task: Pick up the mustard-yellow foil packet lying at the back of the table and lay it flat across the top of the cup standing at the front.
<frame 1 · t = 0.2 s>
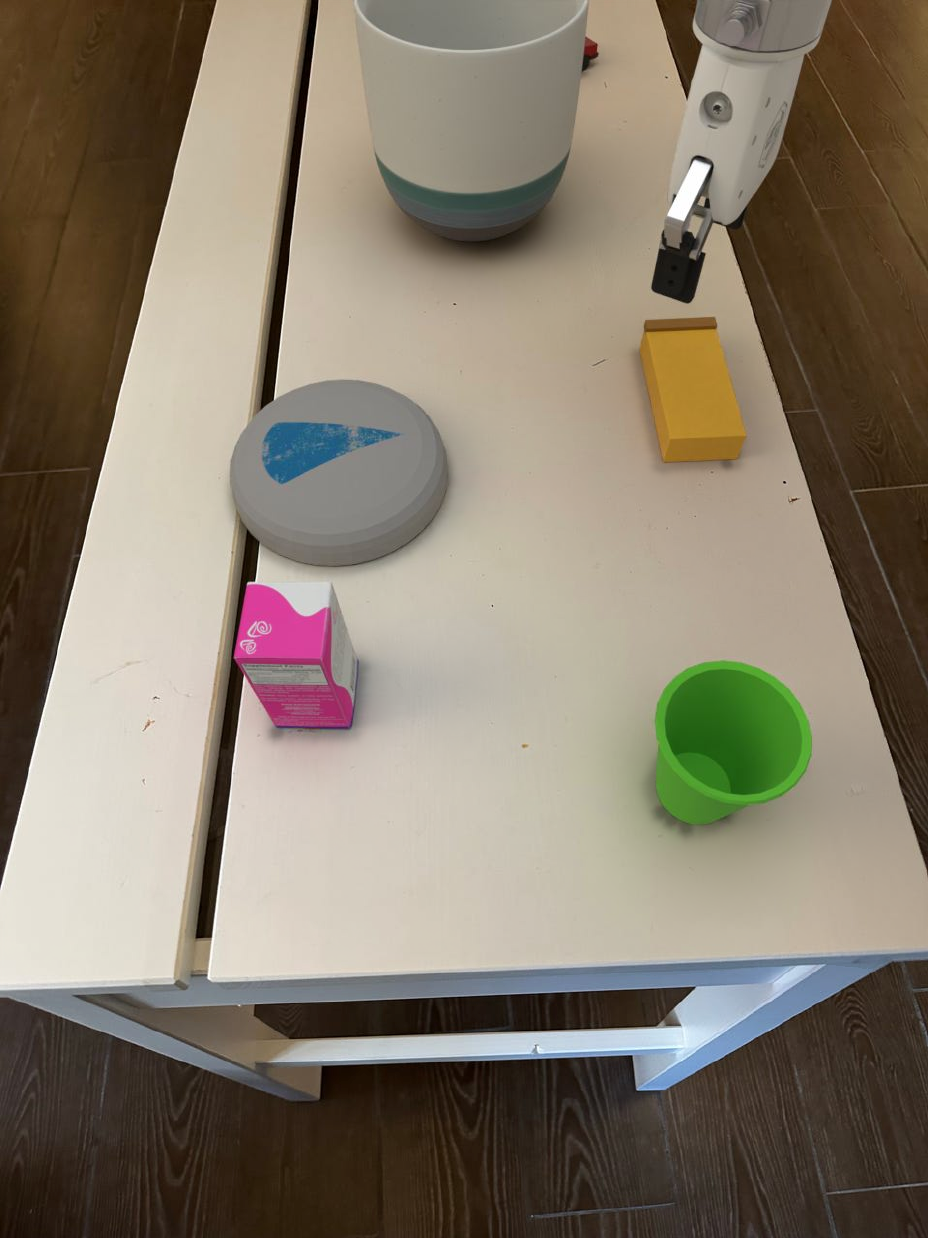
hand: (697, 257, 64), 15 cm above the table, tool pointing down, fingers open, 9 cm apart
toy truck: (549, 73, 105), on the table
cup: (691, 790, 59), on the table
planter: (472, 218, 91), on the table
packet: (686, 402, 77), on the table
grey frisbee: (341, 480, 73), on the table
supplement box: (317, 695, 63), on the table
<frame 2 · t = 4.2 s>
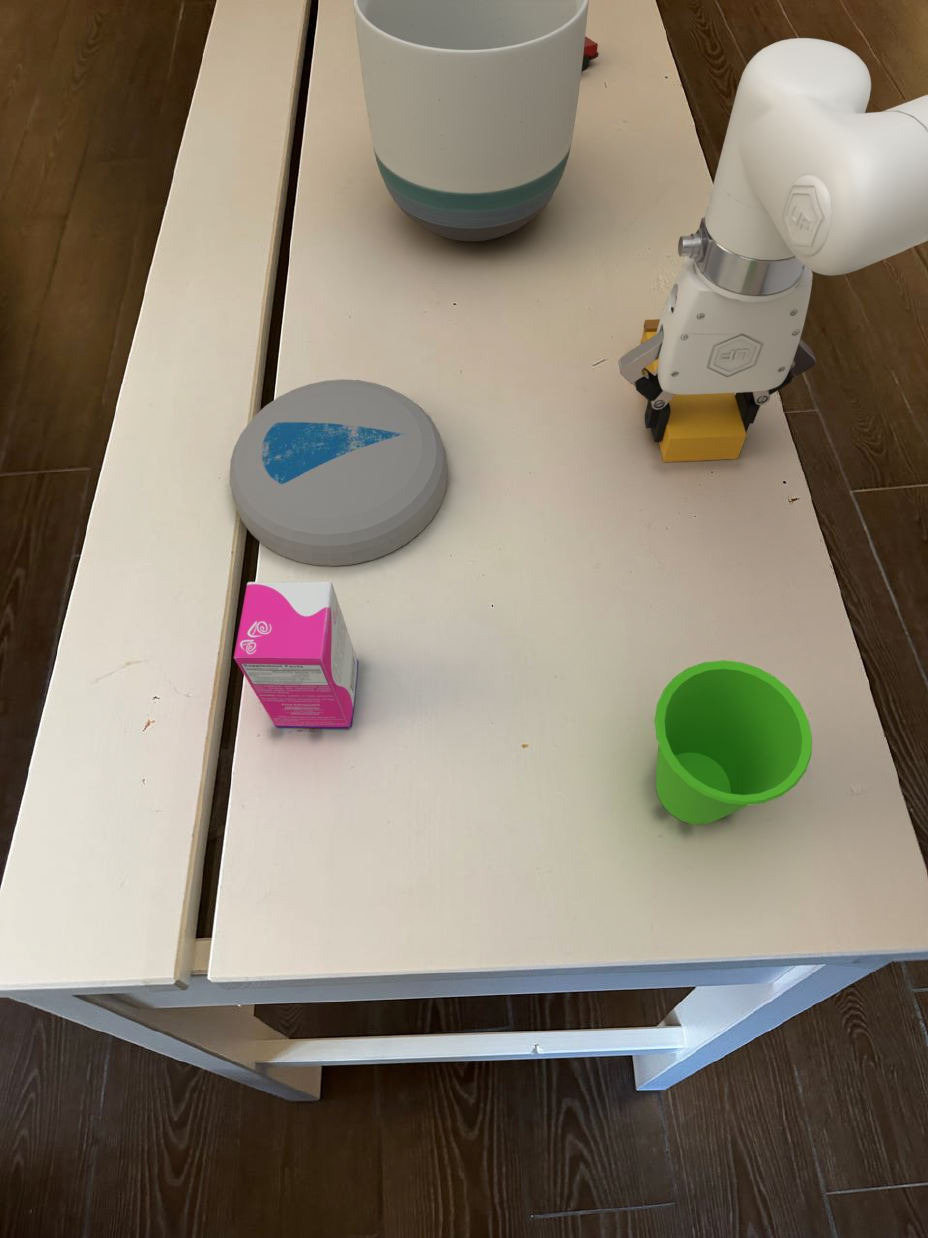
hand: (696, 427, 74), 1 cm above the table, tool pointing down, fingers closed on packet, 6 cm apart
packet: (685, 401, 77), on the table, touching gripper
everything else where it was.
when the fingers open (12 cm above the table, at t = 12.1 s): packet stays where it is, resting on cup.
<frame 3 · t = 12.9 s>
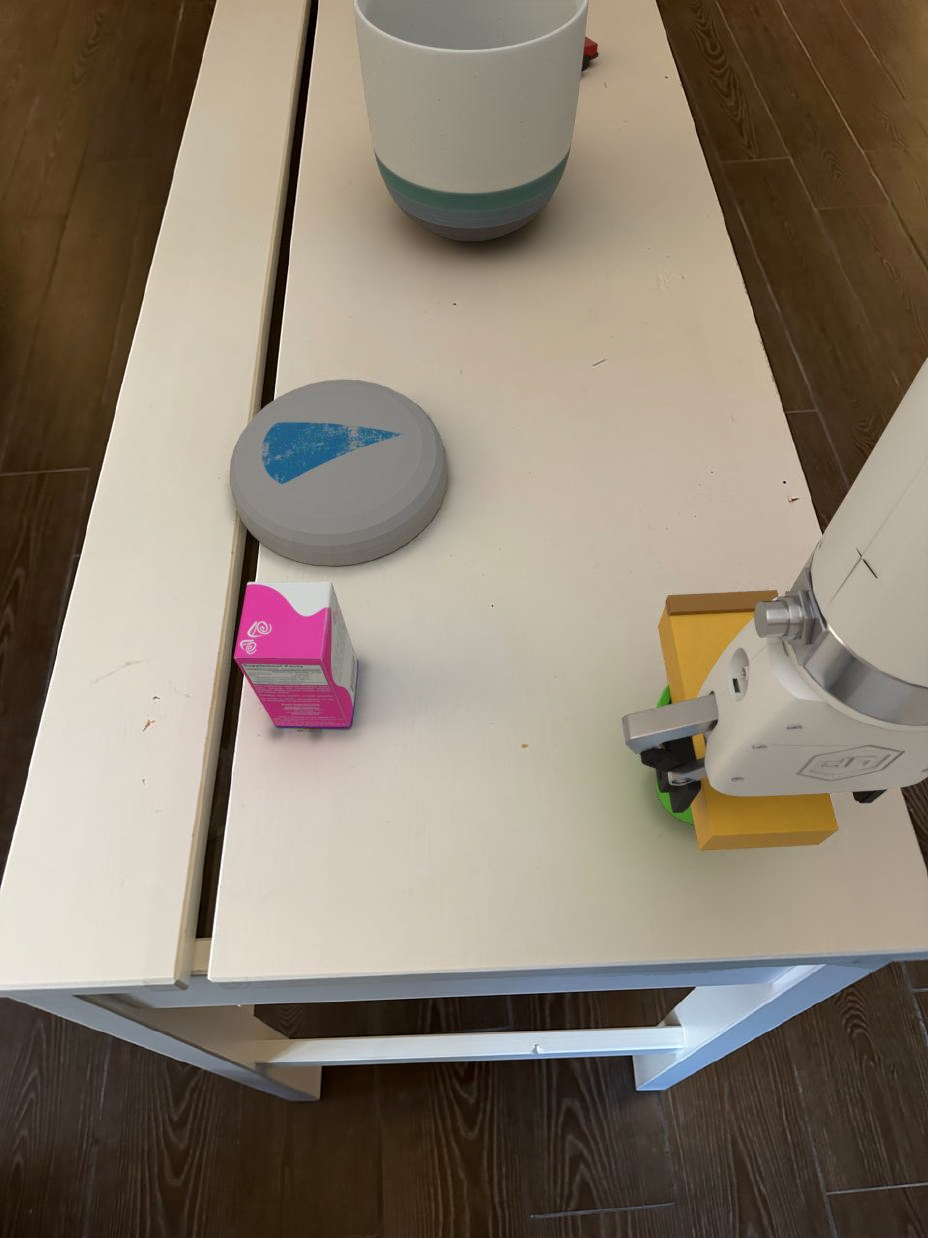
hand: (763, 780, 45), 13 cm above the table, tool pointing down, fingers open, 9 cm apart
cup: (691, 790, 59), on the table, touching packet
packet: (732, 728, 49), point 11 cm above the table, touching cup
everything else where it was.
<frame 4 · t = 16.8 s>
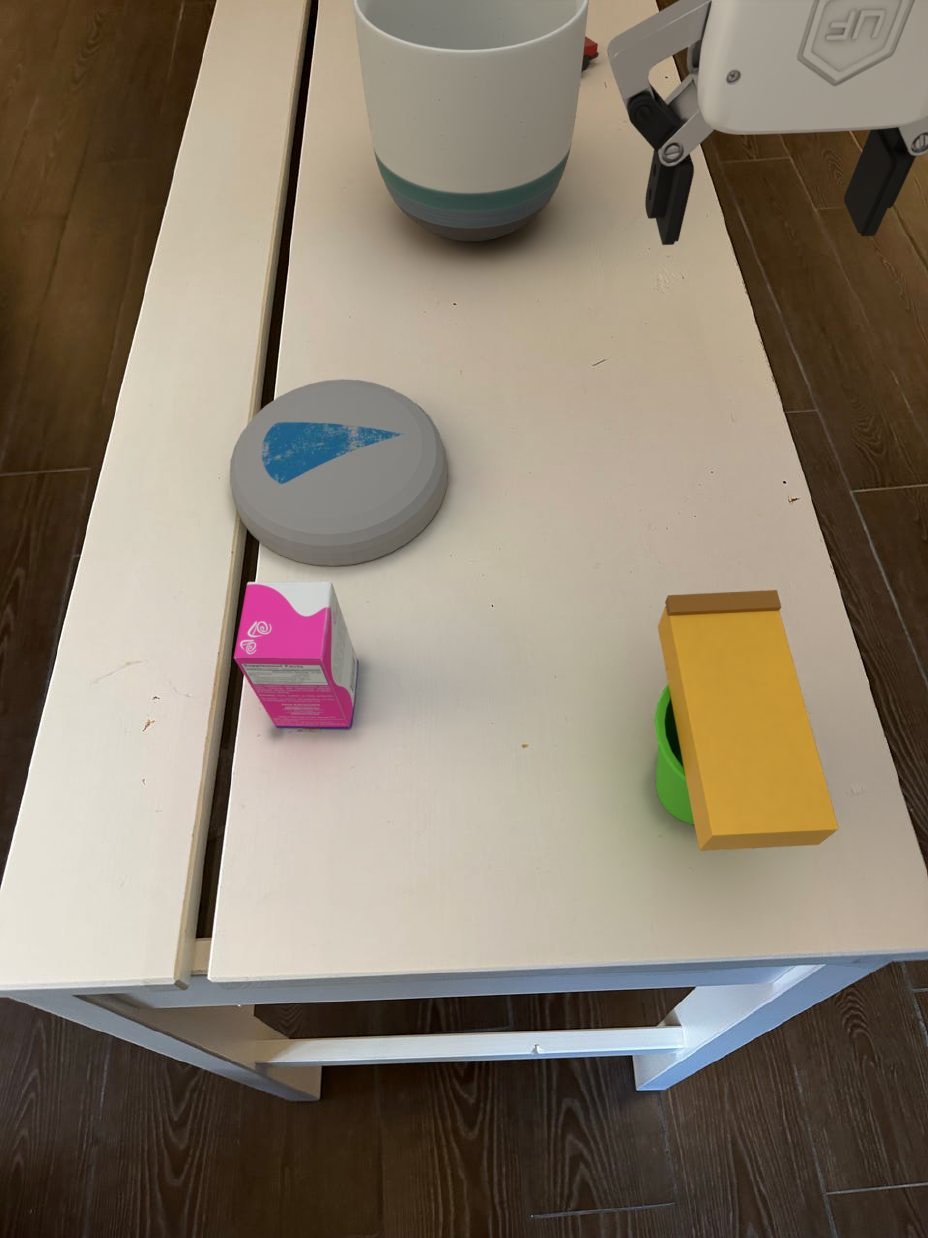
hand: (761, 223, 42), 30 cm above the table, tool pointing down, fingers open, 9 cm apart
nothing on the table moved.
at the end: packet inside the target area on the cup (0.1 cm from its centre), point 11.2 cm above the cup's base; the gripper is holding nothing; cup tilted 0° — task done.
